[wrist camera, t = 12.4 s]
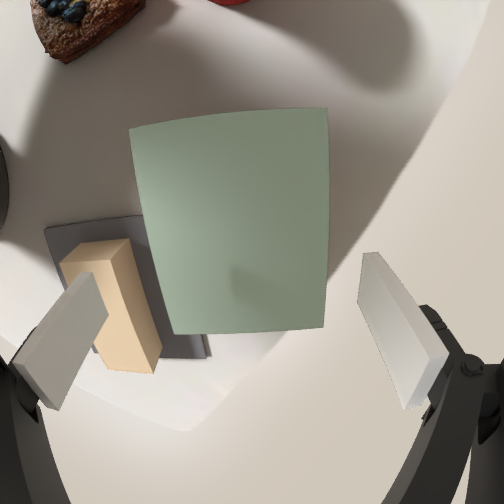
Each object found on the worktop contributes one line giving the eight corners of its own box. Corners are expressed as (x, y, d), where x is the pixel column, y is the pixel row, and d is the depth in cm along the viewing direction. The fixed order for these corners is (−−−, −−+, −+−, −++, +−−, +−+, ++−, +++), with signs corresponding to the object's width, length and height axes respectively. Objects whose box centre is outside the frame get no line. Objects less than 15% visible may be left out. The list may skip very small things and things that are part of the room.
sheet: (177, 325, 24) (174, 334, 23) (135, 127, 17) (128, 128, 16) (320, 318, 23) (323, 327, 22) (322, 108, 16) (327, 108, 15)
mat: (96, 350, 34) (82, 375, 30) (46, 228, 26) (20, 247, 22) (206, 355, 34) (201, 386, 29) (175, 211, 26) (159, 232, 21)
